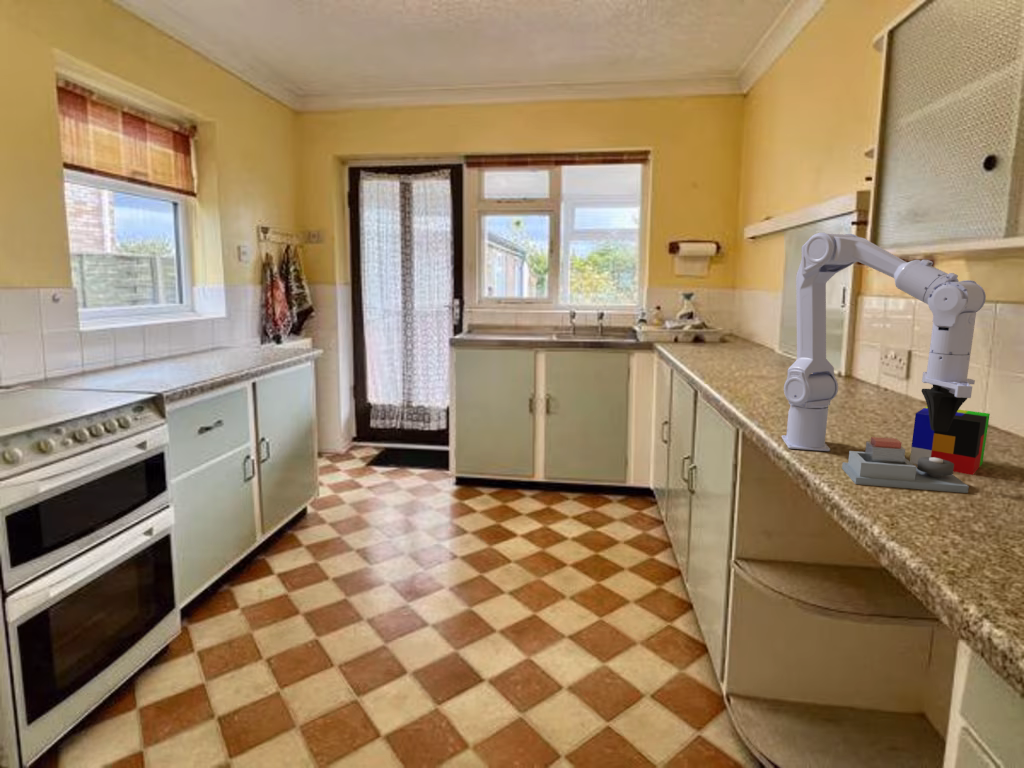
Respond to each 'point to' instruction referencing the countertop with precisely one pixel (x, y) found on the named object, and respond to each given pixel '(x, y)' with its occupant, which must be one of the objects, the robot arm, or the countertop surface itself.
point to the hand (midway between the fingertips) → (939, 430)
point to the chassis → (898, 475)
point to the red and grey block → (884, 451)
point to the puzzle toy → (952, 440)
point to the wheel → (935, 466)
